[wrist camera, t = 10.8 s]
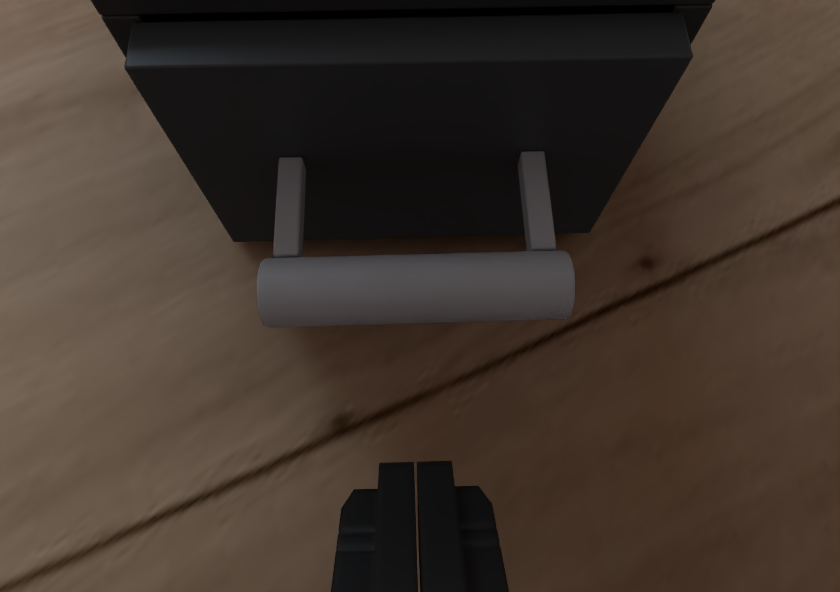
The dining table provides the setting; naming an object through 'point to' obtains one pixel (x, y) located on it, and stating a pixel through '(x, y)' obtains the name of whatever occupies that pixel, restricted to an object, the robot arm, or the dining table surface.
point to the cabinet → (360, 9)
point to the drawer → (410, 145)
